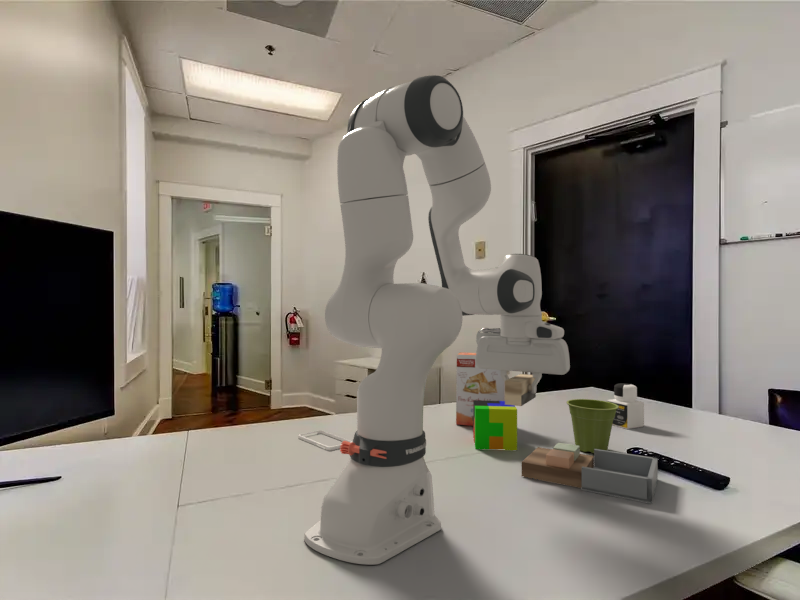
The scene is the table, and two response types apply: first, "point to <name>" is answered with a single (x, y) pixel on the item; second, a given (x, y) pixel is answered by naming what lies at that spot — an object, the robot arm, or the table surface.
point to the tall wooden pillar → (518, 390)
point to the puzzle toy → (494, 425)
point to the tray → (621, 475)
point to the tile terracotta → (560, 458)
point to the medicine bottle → (627, 407)
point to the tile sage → (568, 449)
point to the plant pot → (592, 423)
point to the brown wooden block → (555, 468)
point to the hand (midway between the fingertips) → (520, 391)
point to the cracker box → (475, 387)
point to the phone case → (323, 444)
